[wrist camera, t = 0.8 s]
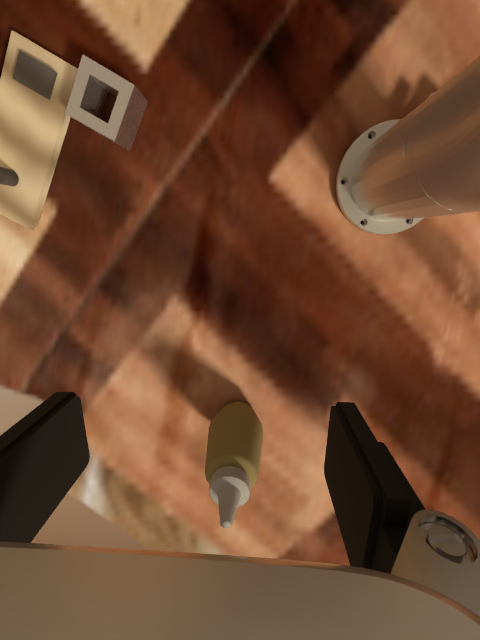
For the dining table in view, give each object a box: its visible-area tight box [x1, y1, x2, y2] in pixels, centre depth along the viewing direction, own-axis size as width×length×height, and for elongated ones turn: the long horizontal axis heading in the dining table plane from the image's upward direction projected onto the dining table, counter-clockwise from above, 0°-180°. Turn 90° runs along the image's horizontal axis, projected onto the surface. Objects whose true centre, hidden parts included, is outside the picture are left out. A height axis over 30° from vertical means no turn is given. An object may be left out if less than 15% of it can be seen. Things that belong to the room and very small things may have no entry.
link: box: [65, 55, 148, 151], centre depth 33 cm, size 6×6×4 cm
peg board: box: [0, 30, 78, 230], centre depth 34 cm, size 20×8×6 cm, turn 152°
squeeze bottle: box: [205, 401, 263, 528], centre depth 38 cm, size 8×8×18 cm
